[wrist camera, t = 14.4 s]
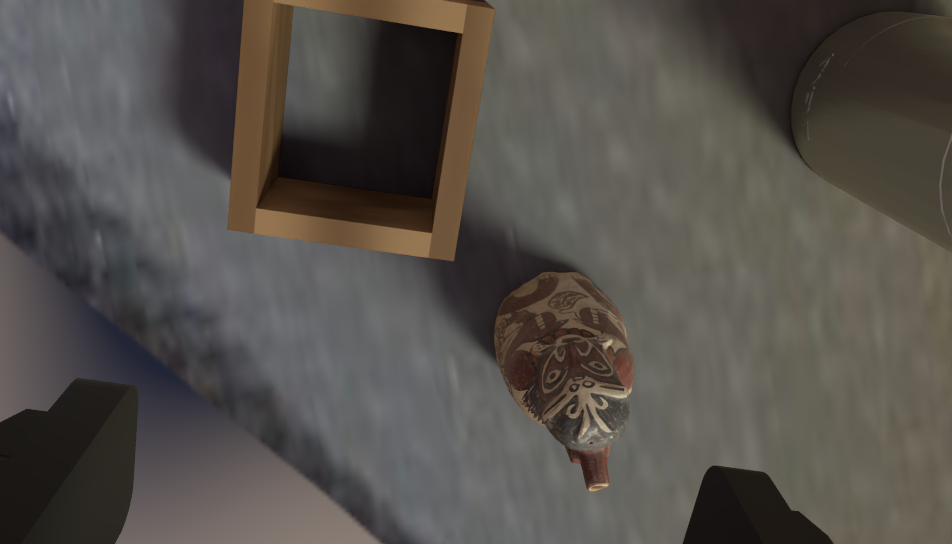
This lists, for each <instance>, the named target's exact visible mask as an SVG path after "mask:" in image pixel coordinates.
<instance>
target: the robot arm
mask: <svg viewBox="0 0 952 544" xmlns="http://www.w3.org/2000/svg"><path fill="white" fill-rule="evenodd" d="M791 128H792V132H793V136H794V140H795V144H796V146H797V148H798V150H799V152H800V154H801V156H802V158H803V160H804V161H805V162H806V163H807V164H808V165H809V167H810V168H811V169H812V170H813V171H814V172H815V173H816V174H817V175H819V176H820V177H822V178H823V179H825V180H826V181H828V182H829V183H831V184H833V185H834V186H836V187H838V188H840V189H841V190H843V191H845V192H847V193H848V194H850V195H852V196H854V197H855V198H857V199H858V200H860V201H862V202H863V203H865V204H867V205H869V206H871V207H872V208H874V209H876V210H878V211H879V212H881V213H883V214H885V215H886V216H888V217H890V218H892V219H894V220H895V221H897V222H899V223H901V224H902V225H904V226H906V227H908V228H909V229H911V230H913V231H915V232H917V233H918V234H920V235H922V236H924V237H925V238H927V239H929V240H931V241H932V242H934V243H936V244H938V245H940V246H941V247H943V248H945V249H947V250H948V251H950V252H952V17H945V16H937V15H928V14H919V13H911V12H902V11H892V12H879V13H875V14H871V15H867V16H863V17H860V18H858V19H856V20H854V21H852V22H850V23H848V24H846V25H844V26H842V27H841V28H840V29H838V30H837V31H836V32H834V33H833V34H832V35H830V36H829V37H828V38H826V39H825V41H824V42H823V43H822V44H821V45H820V46H819V47H818V48H817V49H816V50H815V52H814V53H813V54H812V55H811V57H810V58H809V60H808V62H807V63H806V65H805V66H804V68H803V70H802V71H801V74H800V76H799V79H798V82H797V84H796V87H795V89H794V94H793V100H792V105H791ZM137 414H138V392H137V388H136V387H135V386H134V385H127V384H119V383H112V382H105V381H97V380H89V379H82V378H77V379H75V380H74V381H73V382H72V383H71V384H70V385H69V387H68V388H67V389H66V390H65V391H64V392H63V394H62V395H61V396H60V397H59V398H58V400H57V401H56V402H55V403H54V404H53V406H52V407H51V408H50V409H49V411H48V412H46V411H39V410H31V409H26V410H24V411H22V412H20V413H18V414H16V415H14V416H12V417H10V418H8V419H6V420H4V421H2V422H0V544H115V542H116V540H117V539H118V537H119V535H120V533H121V531H122V528H123V526H124V523H125V521H126V517H127V514H128V511H129V507H130V502H131V497H132V491H133V479H134V464H135V446H136V431H137ZM683 544H833V542H832V541H831V539H830V538H829V536H828V535H826V534H825V533H824V532H823V531H822V530H820V529H819V528H818V527H817V526H816V525H814V524H813V523H812V522H811V521H810V520H809V519H807V518H806V517H805V516H804V515H803V514H801V513H800V512H799V511H792V510H791V509H790V508H789V506H788V505H787V503H786V501H785V500H784V498H783V497H782V495H781V494H780V492H779V491H778V489H777V488H776V486H775V485H774V483H773V481H772V480H771V478H770V477H769V476H768V475H767V474H766V473H764V472H760V471H752V470H745V469H737V468H730V467H723V466H712V467H710V468H709V469H708V470H707V472H706V473H705V475H704V477H703V480H702V483H701V486H700V490H699V493H698V496H697V499H696V502H695V506H694V509H693V512H692V515H691V518H690V522H689V525H688V528H687V531H686V535H685V538H684V541H683Z"/></svg>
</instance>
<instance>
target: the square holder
mask: <svg viewBox="0 0 952 544" xmlns="http://www.w3.org/2000/svg"><path fill="white" fill-rule="evenodd" d="M294 6H299V7H305V8H311V9H317V10H323V11H329V12H335V13H341V14H347V15H354V16H360V17H366V18H372V19H378V20H384V21H390V22H396V23H402V24H408V25H414V26H420V27H426V28H432V29H438V30H444V31H450V32H456V33H457V38H456V44H455V51H454V57H453V64H452V70H451V77H450V84H449V90H448V97H447V103H446V110H445V117H444V123H443V130H442V136H441V143H440V150H439V156H438V163H437V169H436V176H435V182H434V189H433V196H432V199H427V198H420V197H413V196H406V195H399V194H392V193H386V192H379V191H372V190H365V189H358V188H351V187H345V186H338V185H331V184H324V183H317V182H310V181H303V180H297V179H290V178H283V177H278V172H279V161H280V150H281V139H282V128H283V117H284V106H285V95H286V84H287V73H288V62H289V51H290V40H291V29H292V18H293V7H294ZM494 14H495V9H494V8H493V7H492V6H491V5H489V4H488V3H487V2H482V1H476V0H244V6H243V20H242V34H241V47H240V61H239V75H238V89H237V103H236V116H235V130H234V144H233V158H232V172H231V185H230V199H229V213H228V227H227V230H232V231H239V232H247V233H254V234H261V235H268V236H275V237H282V238H290V239H297V240H304V241H311V242H318V243H326V244H333V245H340V246H347V247H354V248H361V249H369V250H376V251H383V252H390V253H397V254H404V255H412V256H419V257H426V258H433V259H440V260H448V261H454V257H455V251H456V245H457V239H458V233H459V227H460V221H461V215H462V209H463V203H464V196H465V190H466V184H467V178H468V172H469V166H470V160H471V154H472V148H473V142H474V136H475V130H476V123H477V117H478V111H479V105H480V99H481V93H482V87H483V81H484V75H485V69H486V63H487V57H488V50H489V44H490V38H491V32H492V26H493V20H494Z"/></svg>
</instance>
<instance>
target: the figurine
mask: <svg viewBox="0 0 952 544" xmlns="http://www.w3.org/2000/svg"><path fill="white" fill-rule="evenodd" d="M494 343H495V351H496V358H497V362H498V365H499V368H500V371H501V374H502V376H503V379H504V381H505V383H506V385H507V387H508V390H509V392H510V394H511V395H512V397H513V398H514V400H515V401H516V403H517V404H518V406H519V407H520V408H521V409H522V411H523V412H524V413H526V414H527V415H528V416H529V417H530V418H531V419H533V420H534V421H536V422H538V423H540V424H542V425H544V426H546V427H547V428H548V430H549V431H550V433H551V434H552V435H553V436H554V437H555V439H556V440H558V441H559V442H560V443H561V444H563V445H564V446H565V448H566V450H567V453H568V455H569V458H570V461H571V462H572V463H577V464H581V467H582V470H583V475H584V479H585V483H586V487H587V489H588V490H589V491H596V490H599V489H603V488H605V487H607V486H608V485H609V476H608V468H607V459H608V456H609V452H610V447H611V444H612V443H614V442H615V441H617V440H618V439H619V438H620V437H621V436H622V434H623V432H624V430H625V428H626V425H627V423H628V419H629V403H628V396H629V394H630V392H631V389H632V384H633V379H634V365H633V357H632V355H631V352H630V348H629V345H628V343H627V336H626V329H625V324H624V321H623V319H622V315H621V314H620V312H619V311H618V309H617V308H616V307H614V305H613V304H612V303H611V302H610V301H609V300H608V299H607V297H606V296H605V295H604V294H602V293H601V292H600V291H599V290H598V289H597V288H595V287H594V285H593V284H592V282H591V281H590V280H589V279H588V278H586V277H584V276H583V275H581V274H579V273H577V272H568V273H557V272H542V273H541V274H540V275H538V276H537V277H535V278H534V279H532V280H530V281H529V282H526V283H524V284H523V285H522V286H521V287H520V288H518V289H517V290H515V291H512V292H511V293H510V294H509V296H507V297H506V298H504V300H503V302H502V304H501V306H500V308H499V310H498V314H497V318H496V322H495V330H494Z"/></svg>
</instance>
